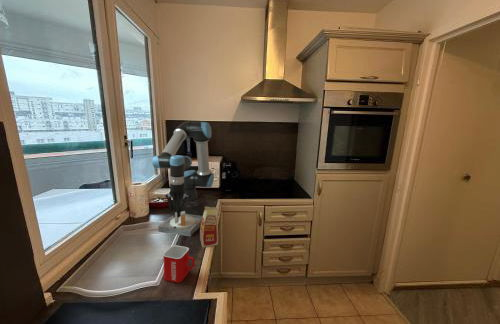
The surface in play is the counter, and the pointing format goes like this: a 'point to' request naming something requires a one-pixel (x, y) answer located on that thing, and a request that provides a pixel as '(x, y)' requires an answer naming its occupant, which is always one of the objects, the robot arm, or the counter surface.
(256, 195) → the counter surface
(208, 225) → the milk carton
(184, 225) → the dial
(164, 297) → the counter surface
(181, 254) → the mug
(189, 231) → the panel
